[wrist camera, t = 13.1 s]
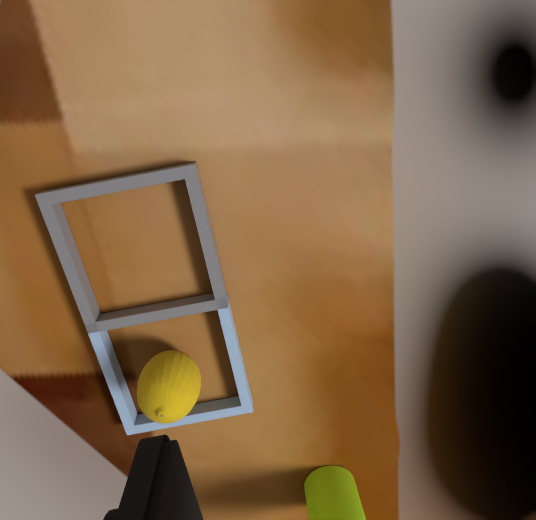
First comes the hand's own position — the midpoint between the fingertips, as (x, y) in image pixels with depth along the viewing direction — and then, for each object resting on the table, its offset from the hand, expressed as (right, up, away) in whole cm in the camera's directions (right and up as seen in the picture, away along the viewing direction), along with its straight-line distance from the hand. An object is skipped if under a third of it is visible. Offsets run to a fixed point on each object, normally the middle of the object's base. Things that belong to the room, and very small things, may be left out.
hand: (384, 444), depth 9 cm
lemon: (-12, -6, +32) cm, 34 cm away
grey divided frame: (-13, 0, +30) cm, 32 cm away
